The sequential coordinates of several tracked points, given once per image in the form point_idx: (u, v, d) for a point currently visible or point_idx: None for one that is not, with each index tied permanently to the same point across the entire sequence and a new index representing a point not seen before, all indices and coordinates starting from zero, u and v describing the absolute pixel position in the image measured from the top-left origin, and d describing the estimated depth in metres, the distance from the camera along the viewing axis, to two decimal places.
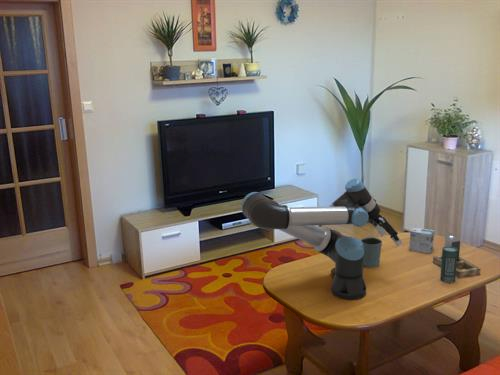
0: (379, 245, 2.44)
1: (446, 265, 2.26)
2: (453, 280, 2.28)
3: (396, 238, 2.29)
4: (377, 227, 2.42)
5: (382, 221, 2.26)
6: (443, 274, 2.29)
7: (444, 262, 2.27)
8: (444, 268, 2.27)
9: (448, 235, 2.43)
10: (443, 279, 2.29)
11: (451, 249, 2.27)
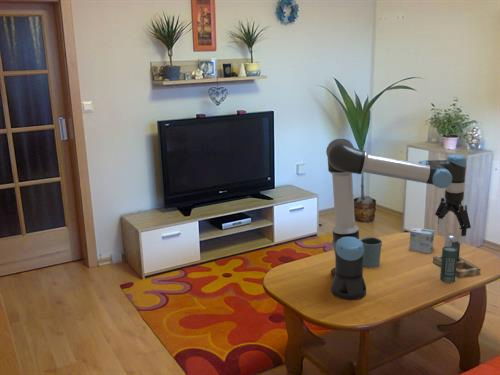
0: (379, 245, 2.44)
1: (446, 265, 2.26)
2: (453, 280, 2.28)
3: (464, 232, 2.16)
4: (441, 221, 2.30)
5: (463, 207, 2.15)
6: (443, 274, 2.29)
7: (444, 262, 2.27)
8: (444, 268, 2.27)
9: (448, 235, 2.43)
10: (443, 279, 2.29)
11: (451, 249, 2.27)
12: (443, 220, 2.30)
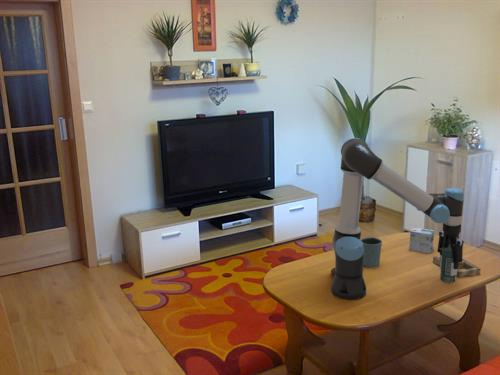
0: (379, 245, 2.44)
1: (446, 265, 2.26)
2: (453, 280, 2.28)
3: (456, 266, 2.24)
4: None
5: (460, 243, 2.19)
6: (443, 274, 2.29)
7: (444, 262, 2.27)
8: (444, 268, 2.27)
9: None
10: (443, 279, 2.29)
11: None
12: None
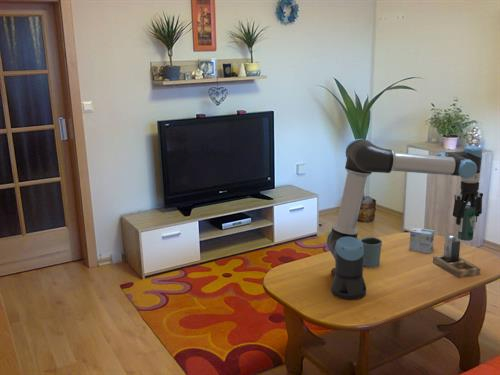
0: (379, 245, 2.44)
1: None
2: (460, 237, 2.32)
3: (457, 221, 2.30)
4: None
5: (455, 197, 2.27)
6: None
7: None
8: None
9: (448, 235, 2.43)
10: None
11: (469, 208, 2.29)
12: None
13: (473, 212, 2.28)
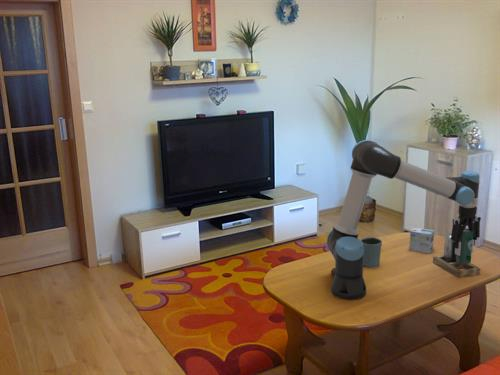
0: (379, 245, 2.44)
1: None
2: (459, 260, 2.35)
3: (455, 245, 2.33)
4: None
5: (453, 222, 2.30)
6: None
7: None
8: None
9: (448, 235, 2.43)
10: None
11: (467, 232, 2.32)
12: None
13: (471, 236, 2.31)
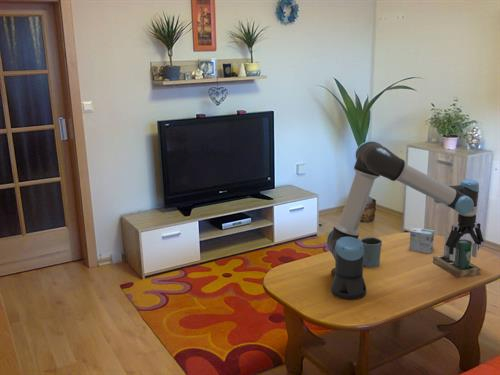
0: (379, 245, 2.44)
1: None
2: None
3: (449, 251, 2.33)
4: (473, 245, 2.37)
5: (452, 228, 2.31)
6: None
7: None
8: None
9: (448, 235, 2.43)
10: None
11: (465, 243, 2.34)
12: (475, 245, 2.36)
13: (469, 247, 2.32)
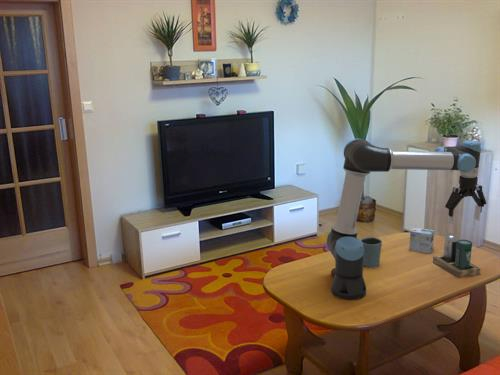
0: (379, 245, 2.44)
1: None
2: None
3: (449, 213, 2.28)
4: (476, 208, 2.33)
5: (453, 189, 2.26)
6: None
7: None
8: None
9: (448, 235, 2.43)
10: None
11: (465, 243, 2.34)
12: (478, 208, 2.32)
13: (470, 247, 2.32)
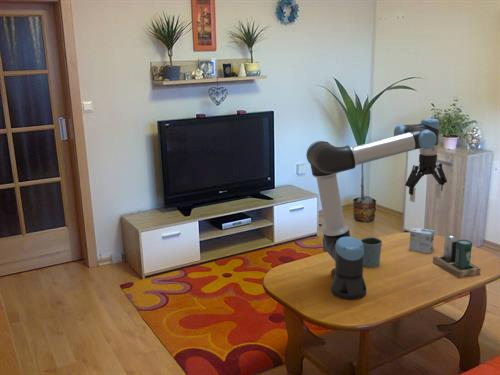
0: (379, 245, 2.44)
1: None
2: None
3: (409, 191, 2.29)
4: (437, 186, 2.33)
5: (413, 167, 2.27)
6: None
7: None
8: None
9: (448, 235, 2.43)
10: None
11: (465, 243, 2.34)
12: (438, 186, 2.32)
13: (469, 247, 2.32)
